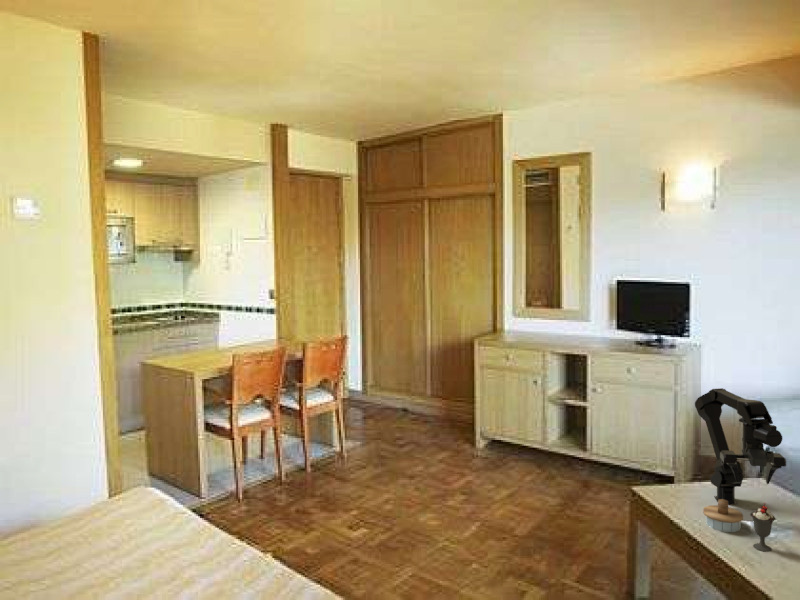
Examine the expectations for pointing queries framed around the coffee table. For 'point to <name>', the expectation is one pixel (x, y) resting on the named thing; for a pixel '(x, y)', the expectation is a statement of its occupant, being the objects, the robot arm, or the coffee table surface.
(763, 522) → the sundae
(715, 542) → the coffee table surface
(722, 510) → the lid
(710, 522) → the bowl
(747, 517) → the grey square tile
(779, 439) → the robot arm
